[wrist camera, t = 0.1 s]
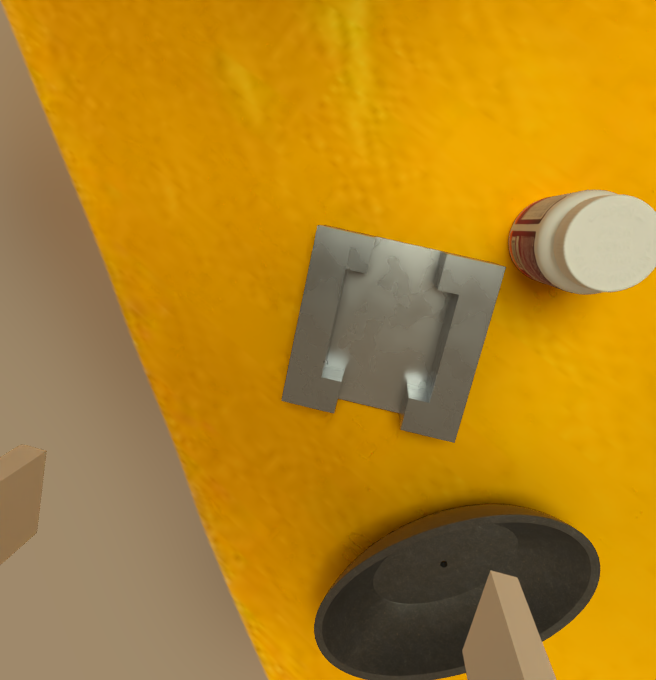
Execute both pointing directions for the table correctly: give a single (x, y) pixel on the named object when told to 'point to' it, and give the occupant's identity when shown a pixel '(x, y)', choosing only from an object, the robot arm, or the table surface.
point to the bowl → (449, 589)
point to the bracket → (391, 329)
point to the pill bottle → (585, 241)
